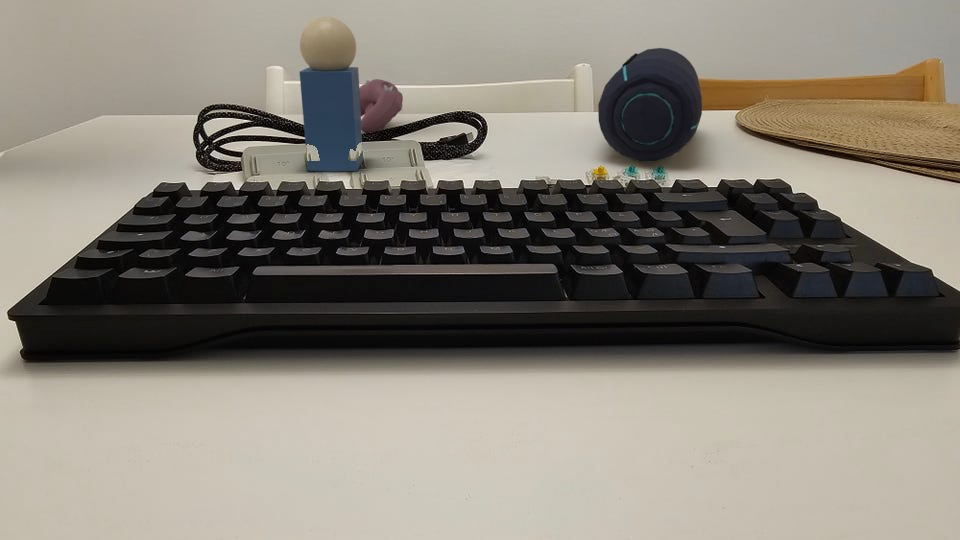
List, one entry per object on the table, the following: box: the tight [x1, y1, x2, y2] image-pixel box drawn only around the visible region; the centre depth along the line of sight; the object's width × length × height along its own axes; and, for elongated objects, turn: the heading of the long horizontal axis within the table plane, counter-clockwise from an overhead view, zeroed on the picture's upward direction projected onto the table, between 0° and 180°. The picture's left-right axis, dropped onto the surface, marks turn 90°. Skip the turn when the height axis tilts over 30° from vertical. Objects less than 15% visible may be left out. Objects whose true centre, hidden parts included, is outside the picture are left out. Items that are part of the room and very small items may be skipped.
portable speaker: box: [597, 47, 703, 163], centre depth 75 cm, size 25×10×10 cm, turn 164°
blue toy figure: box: [299, 16, 364, 172], centre depth 64 cm, size 5×5×14 cm
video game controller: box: [359, 78, 404, 134], centre depth 86 cm, size 10×5×7 cm, turn 29°
